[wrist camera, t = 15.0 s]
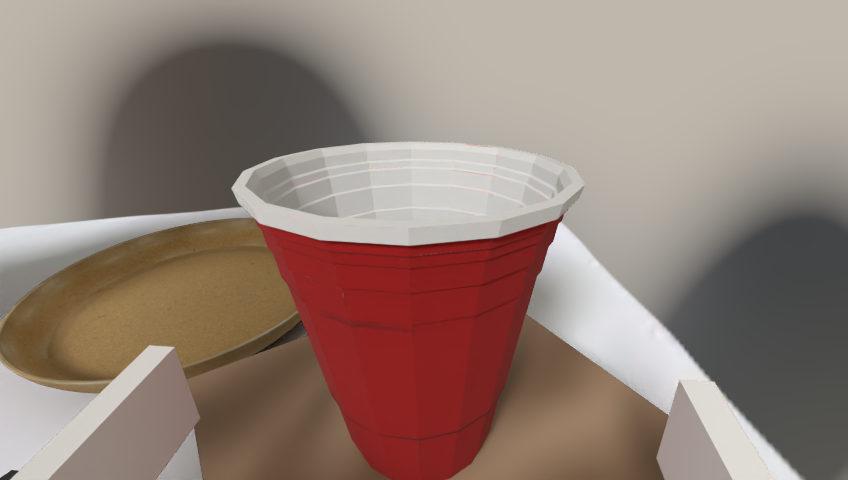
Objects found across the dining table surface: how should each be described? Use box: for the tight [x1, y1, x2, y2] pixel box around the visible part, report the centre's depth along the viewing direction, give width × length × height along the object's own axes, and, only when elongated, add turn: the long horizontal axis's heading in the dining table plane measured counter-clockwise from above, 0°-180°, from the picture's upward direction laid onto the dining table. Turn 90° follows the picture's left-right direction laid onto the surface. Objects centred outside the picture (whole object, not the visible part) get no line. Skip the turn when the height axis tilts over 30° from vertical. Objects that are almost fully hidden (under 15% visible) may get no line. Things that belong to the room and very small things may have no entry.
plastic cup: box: [232, 142, 585, 480], centre depth 17 cm, size 11×11×12 cm
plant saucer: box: [0, 218, 301, 393], centre depth 37 cm, size 24×24×3 cm
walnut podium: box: [187, 315, 669, 480], centre depth 21 cm, size 18×18×5 cm
